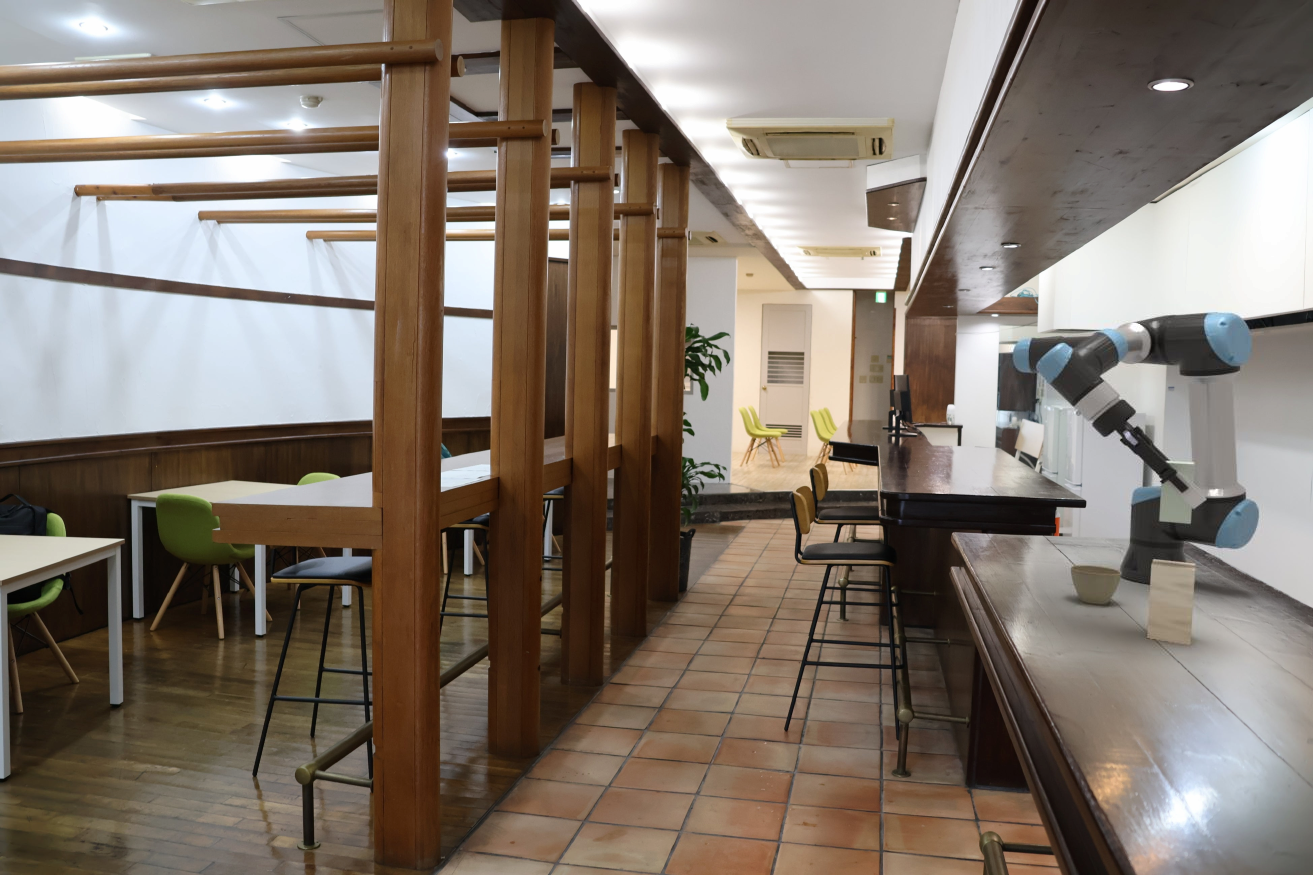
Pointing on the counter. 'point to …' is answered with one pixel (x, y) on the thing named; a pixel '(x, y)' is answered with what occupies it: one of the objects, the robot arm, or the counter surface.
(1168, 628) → the tower base
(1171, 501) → the sage block
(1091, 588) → the flower pot
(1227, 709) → the counter surface
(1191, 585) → the tower top
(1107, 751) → the counter surface
